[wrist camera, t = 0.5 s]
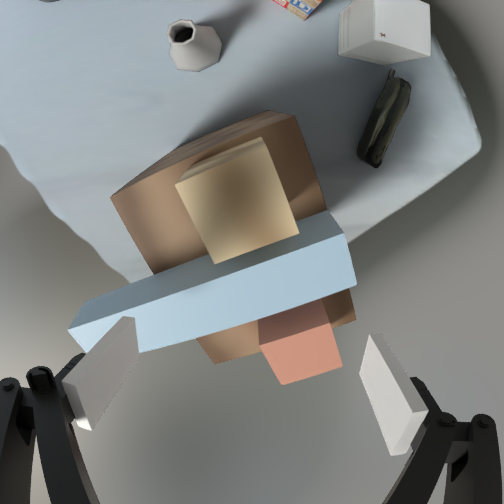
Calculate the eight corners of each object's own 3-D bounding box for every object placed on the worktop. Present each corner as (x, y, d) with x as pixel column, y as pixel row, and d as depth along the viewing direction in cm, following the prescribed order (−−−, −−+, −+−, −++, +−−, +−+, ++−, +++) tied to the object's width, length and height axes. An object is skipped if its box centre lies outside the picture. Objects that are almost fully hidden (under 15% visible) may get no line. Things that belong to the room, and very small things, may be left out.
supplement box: (384, 66, 34) (432, 59, 23) (336, 55, 34) (372, 40, 23) (386, 23, 31) (431, 4, 20) (338, 10, 31) (372, -18, 19)
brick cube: (276, 342, 27) (281, 385, 22) (256, 302, 25) (259, 345, 20) (329, 325, 26) (342, 366, 22) (315, 281, 24) (329, 322, 19)
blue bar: (109, 333, 26) (95, 363, 23) (85, 301, 24) (67, 329, 21) (340, 256, 23) (357, 284, 19) (327, 209, 21) (344, 232, 18)
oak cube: (220, 229, 22) (214, 264, 17) (190, 165, 19) (174, 184, 15) (287, 203, 21) (299, 233, 16) (261, 136, 19) (266, 146, 14)
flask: (219, 20, 31) (212, -3, 23) (225, 67, 35) (220, 56, 26) (166, 31, 32) (145, 12, 23) (172, 77, 35) (151, 70, 26)
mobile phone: (382, 171, 37) (420, 76, 30) (364, 163, 37) (402, 64, 30) (369, 163, 42) (403, 76, 35) (351, 155, 41) (386, 66, 34)
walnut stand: (224, 256, 48) (214, 364, 28) (173, 149, 40) (109, 197, 20) (310, 224, 45) (356, 319, 26) (268, 110, 38) (294, 115, 18)
